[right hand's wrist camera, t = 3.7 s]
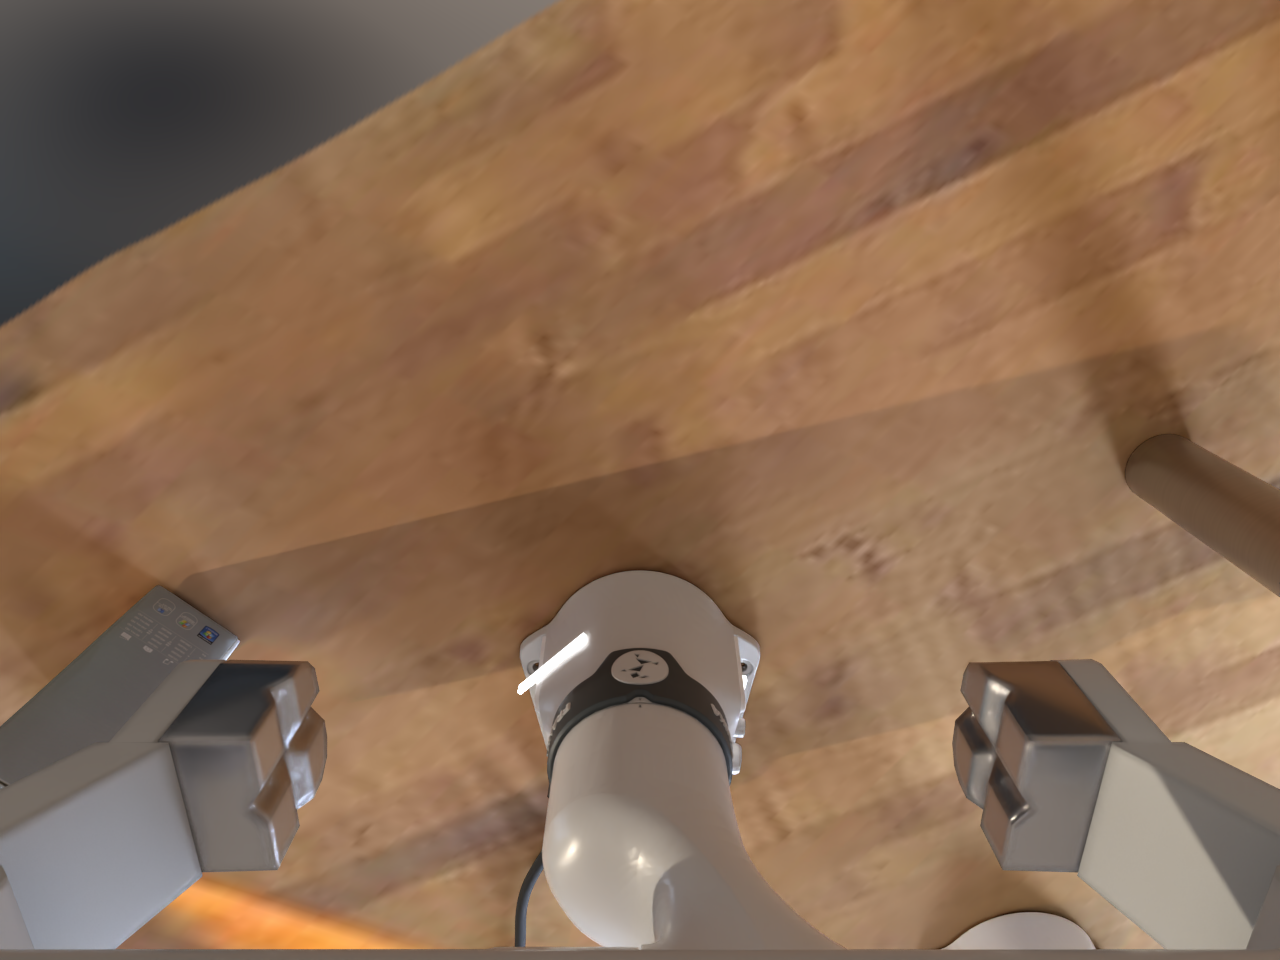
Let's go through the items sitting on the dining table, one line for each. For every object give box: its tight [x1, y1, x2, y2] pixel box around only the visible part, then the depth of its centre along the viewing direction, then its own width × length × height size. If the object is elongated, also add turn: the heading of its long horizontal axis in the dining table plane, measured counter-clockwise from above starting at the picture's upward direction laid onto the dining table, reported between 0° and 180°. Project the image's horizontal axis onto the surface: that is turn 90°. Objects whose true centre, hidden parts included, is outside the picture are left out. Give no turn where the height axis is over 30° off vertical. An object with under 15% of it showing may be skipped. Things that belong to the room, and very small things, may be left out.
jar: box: [1125, 434, 1280, 597], centre depth 53 cm, size 5×5×18 cm
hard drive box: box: [0, 585, 240, 789], centre depth 58 cm, size 16×8×20 cm, turn 138°
